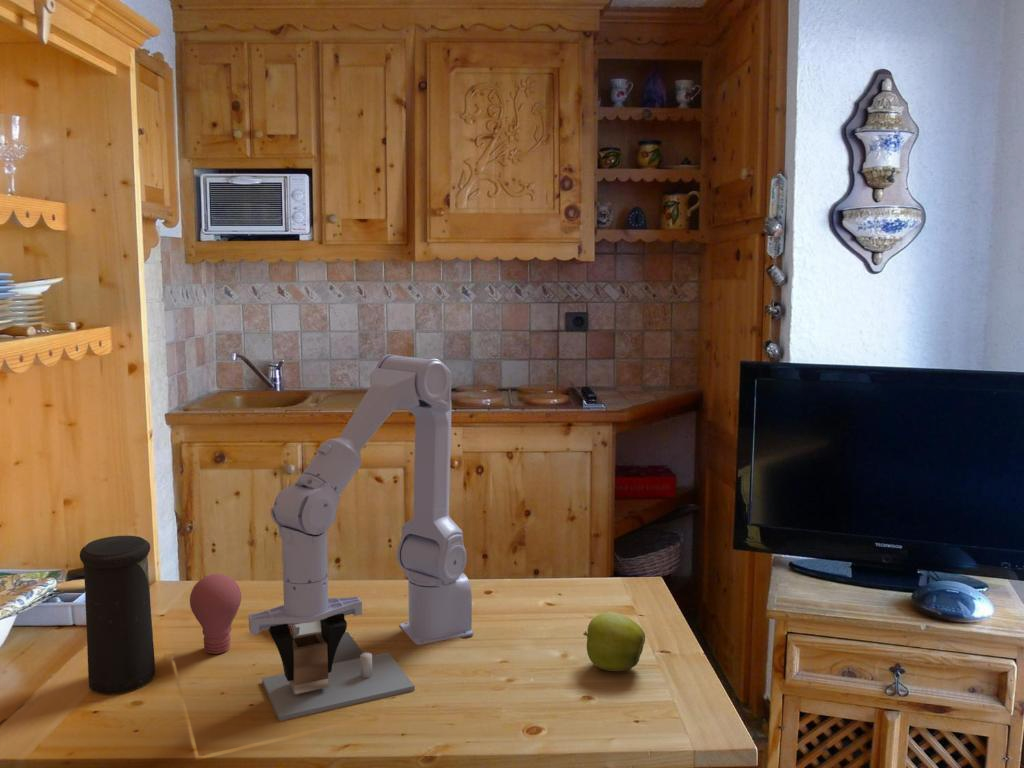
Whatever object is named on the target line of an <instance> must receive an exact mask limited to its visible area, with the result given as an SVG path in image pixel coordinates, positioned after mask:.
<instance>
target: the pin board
mask: <svg viewBox="0 0 1024 768" xmlns="http://www.w3.org/2000/svg"><path fill="white" fill-rule="evenodd" d="M261 679H262V680H261V683H262V685H263V687H264V689H265V692H266V694H267V696H268V699H269V701H270V704H271V705H272V707H273V710H274V713H275V714H276V718H278V721H279V722H283V721H286V720H287V721H288V720H291V719H296V718H300V717H305V716H308V715H309V716H310V715H314V714H318V713H322V712H326V711H331V710H335V709H340V708H343V707H344V708H345V707H348V706H352V705H357V704H362V703H365V702H370V701H374V700H380V699H384V698H388V697H393V696H396V695H401V694H405V693H409V692H413V691H415V690H416V689H415V687H416V686H415V684H414V683H413V681H412V680H411V679H410V678H409V677H408V676H407V674H406V673H405V672H404V671H403V669H402V668H401V666H400V665H399V664H398V662H396V660H395V659H394V658H393V657H392V655H391V654H390V653H389V652H383V653H378V654H374V655H373V654H372V653H371V652H363V653H362V654H361V655H360V658H358V659H353V660H348V661H343V662H338V663H333V664H332V670H331V672H330V673H328V685H329V687H327V688H322V689H318V690H313V691H308V692H304V693H299V694H295V693H294V691H293V689H292V687H291V685H290V683H289V681H287V679H286V677H285V673H279V674H275V675H270V676H267V677H266V676H265V677H262V678H261Z"/></svg>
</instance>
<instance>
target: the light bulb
mask: <svg viewBox="0 0 1024 768" xmlns="http://www.w3.org/2000/svg"><path fill="white" fill-rule="evenodd" d="M241 604H242V591H241V588H240V586H239V584H238V582H237V581H236V580H235V579H234V578H232V577H231V576H229V575H226V574H224V573H212V574H209V575H205V576H204V577H202V578H201V579H199V580H198V581H197V582H196V583H195V585H194V586H193V588H192V590H191V593H190V597H189V607H190V610H191V612H192V614H193V615H194V617H195V619H196V620H197V622H198V623H199V625H200V626H201V627H202V635H203V647H204V652H206V653H208V654H214V655H215V654H222V653H225V652H227V651H229V650H230V649H231V641H232V638H231V634H230V632H232V630H233V629H232V623H233V621H234V619H235V618H236V615H237V613H238V611H239V608H240V606H241Z"/></svg>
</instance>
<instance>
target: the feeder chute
mask: <svg viewBox="0 0 1024 768" xmlns="http://www.w3.org/2000/svg"><path fill="white" fill-rule="evenodd" d="M290 627H291V630H292V631H291V632H292V634H293V636H298V635H304V634H309V633H314V632H320V634H321V635H322V632H321V623H320V620H319V621H315V622H310V623H302V624H296V625H291V626H290Z"/></svg>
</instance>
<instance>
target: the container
mask: <svg viewBox="0 0 1024 768" xmlns="http://www.w3.org/2000/svg"><path fill="white" fill-rule="evenodd" d="M150 550H151V544H150V542H149V541H148V540H146V539H145V538H143V537H141V536H137V535H115V536H114V535H113V536H106V537H102V538H99V539H95V540H92V541H90V542H88V543H87V544H86V545H84V546H83V547H82V549H80V551H79V560H80V561H81V563H82V564H83V575H84V576H83V578H84V596H85V597H84V598H85V601H84V602H85V621H86V622H85V623H86V642H87V643H86V646H87V647H86V649H87V675H88V676H87V677H88V687H89V689H90V690H91V691H92V692H94V693H97V694H99V695H120V694H124V693H129V692H131V691H134V690H137V689H139V688H142V687H144V686H145V685H147V684H149V682H151V681H152V680H153V679H154V677H155V675H156V664H155V663H156V659H155V646H154V634H153V633H154V631H153V619H152V607H151V605H152V604H151V593H150V592H151V591H150V577H149V562H148V561H149V560H148V556H149V553H150V552H151V551H150Z"/></svg>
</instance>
